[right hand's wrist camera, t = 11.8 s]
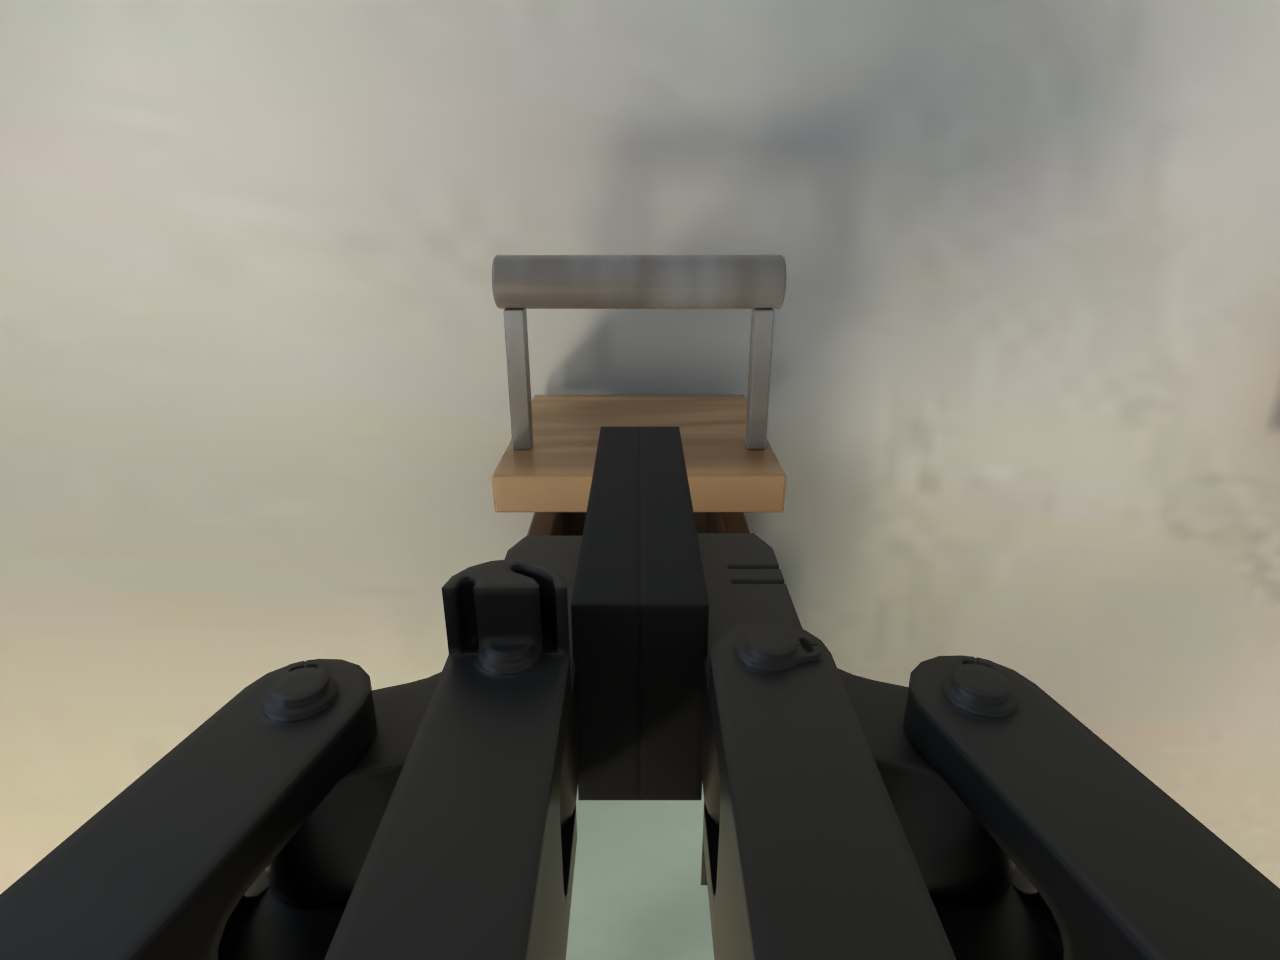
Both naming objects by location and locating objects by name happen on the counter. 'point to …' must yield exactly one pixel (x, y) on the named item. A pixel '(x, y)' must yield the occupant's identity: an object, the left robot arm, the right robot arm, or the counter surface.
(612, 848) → the cabinet
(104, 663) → the counter surface
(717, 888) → the right robot arm
